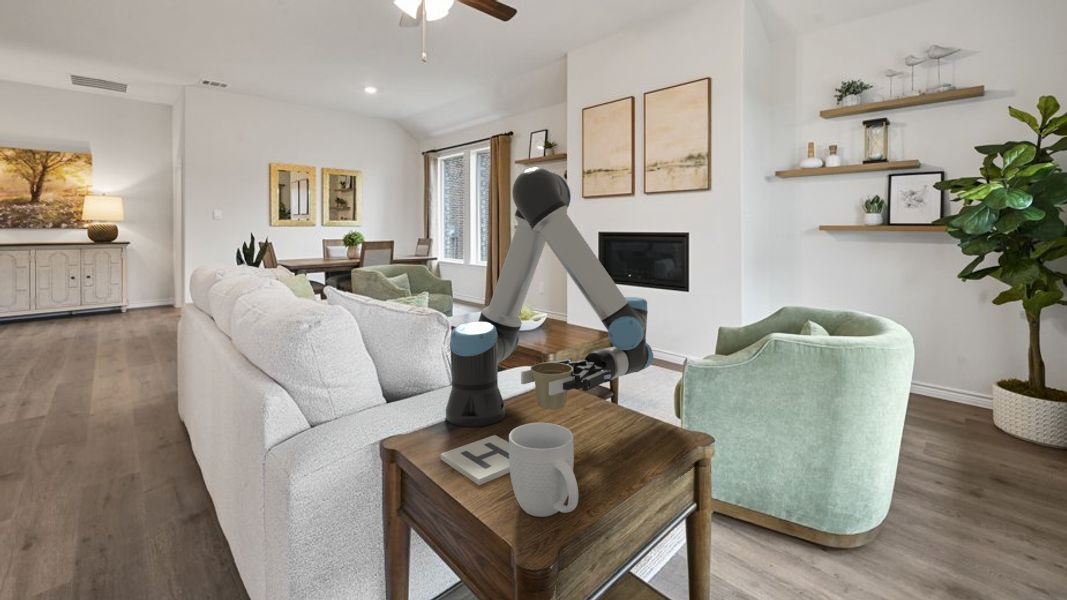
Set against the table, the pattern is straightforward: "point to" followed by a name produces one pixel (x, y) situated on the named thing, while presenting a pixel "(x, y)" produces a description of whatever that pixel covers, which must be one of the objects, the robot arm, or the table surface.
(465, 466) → the letter board
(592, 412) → the table surface
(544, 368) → the flower pot
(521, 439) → the mug
